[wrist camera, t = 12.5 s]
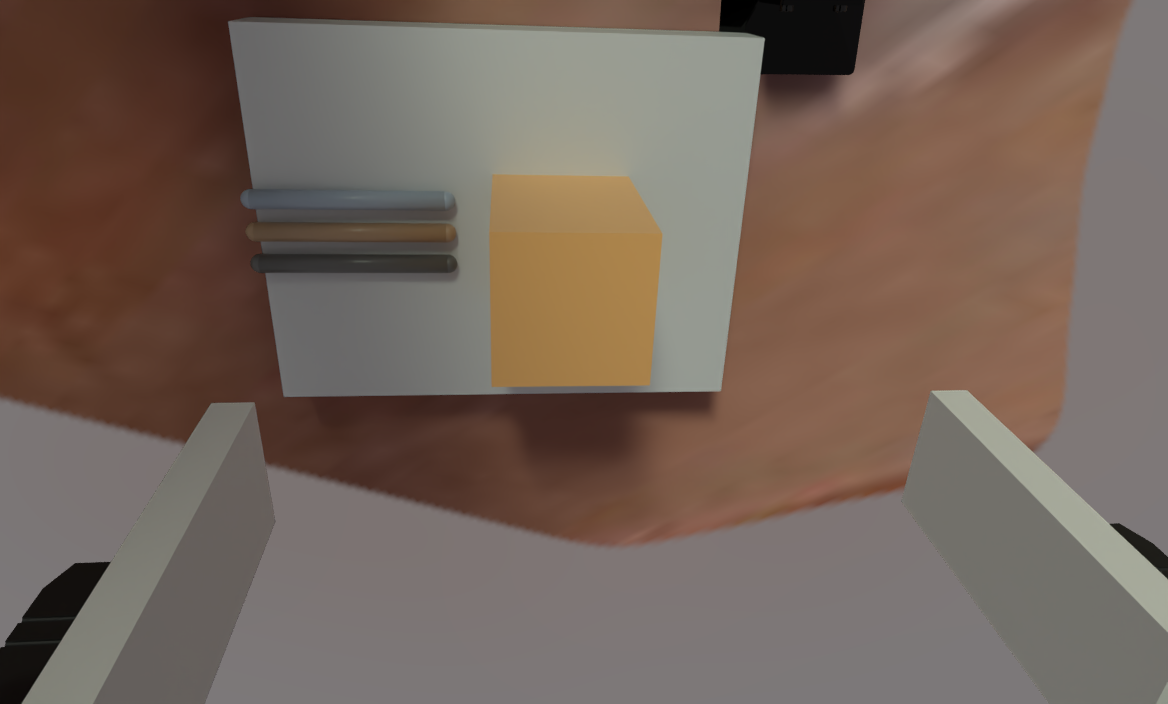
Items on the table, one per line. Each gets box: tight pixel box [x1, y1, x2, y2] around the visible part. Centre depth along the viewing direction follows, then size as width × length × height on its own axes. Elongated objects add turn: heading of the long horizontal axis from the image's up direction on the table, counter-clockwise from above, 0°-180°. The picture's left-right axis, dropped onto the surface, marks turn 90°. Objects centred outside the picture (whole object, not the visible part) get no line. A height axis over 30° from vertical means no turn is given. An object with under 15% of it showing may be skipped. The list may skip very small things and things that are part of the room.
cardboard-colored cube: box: [489, 174, 663, 387], centre depth 27 cm, size 5×5×7 cm
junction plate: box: [228, 17, 765, 397], centre depth 28 cm, size 18×14×8 cm
